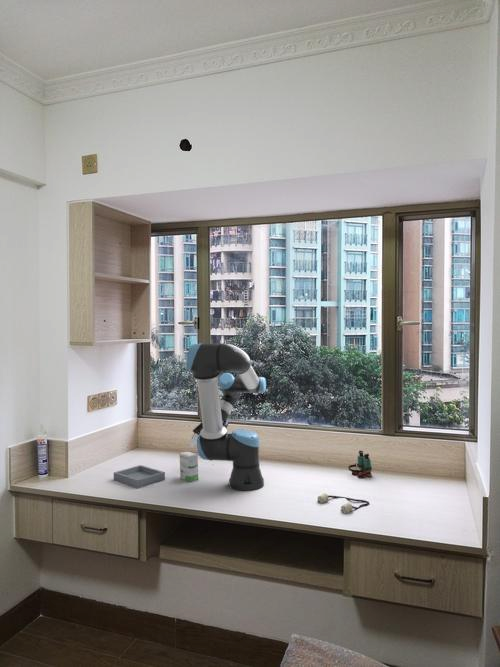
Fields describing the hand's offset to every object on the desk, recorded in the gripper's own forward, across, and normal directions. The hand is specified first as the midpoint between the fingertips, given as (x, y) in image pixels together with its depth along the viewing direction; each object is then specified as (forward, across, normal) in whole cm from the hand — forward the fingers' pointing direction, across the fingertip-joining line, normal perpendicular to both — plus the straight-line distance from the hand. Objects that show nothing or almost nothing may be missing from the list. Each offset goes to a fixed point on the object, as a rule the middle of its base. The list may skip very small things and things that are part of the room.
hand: (200, 448), depth 244 cm
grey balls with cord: (+2, -71, -16) cm, 72 cm away
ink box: (+14, -1, -3) cm, 15 cm away
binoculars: (-22, -58, -40) cm, 75 cm away
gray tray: (+25, +16, +8) cm, 31 cm away
